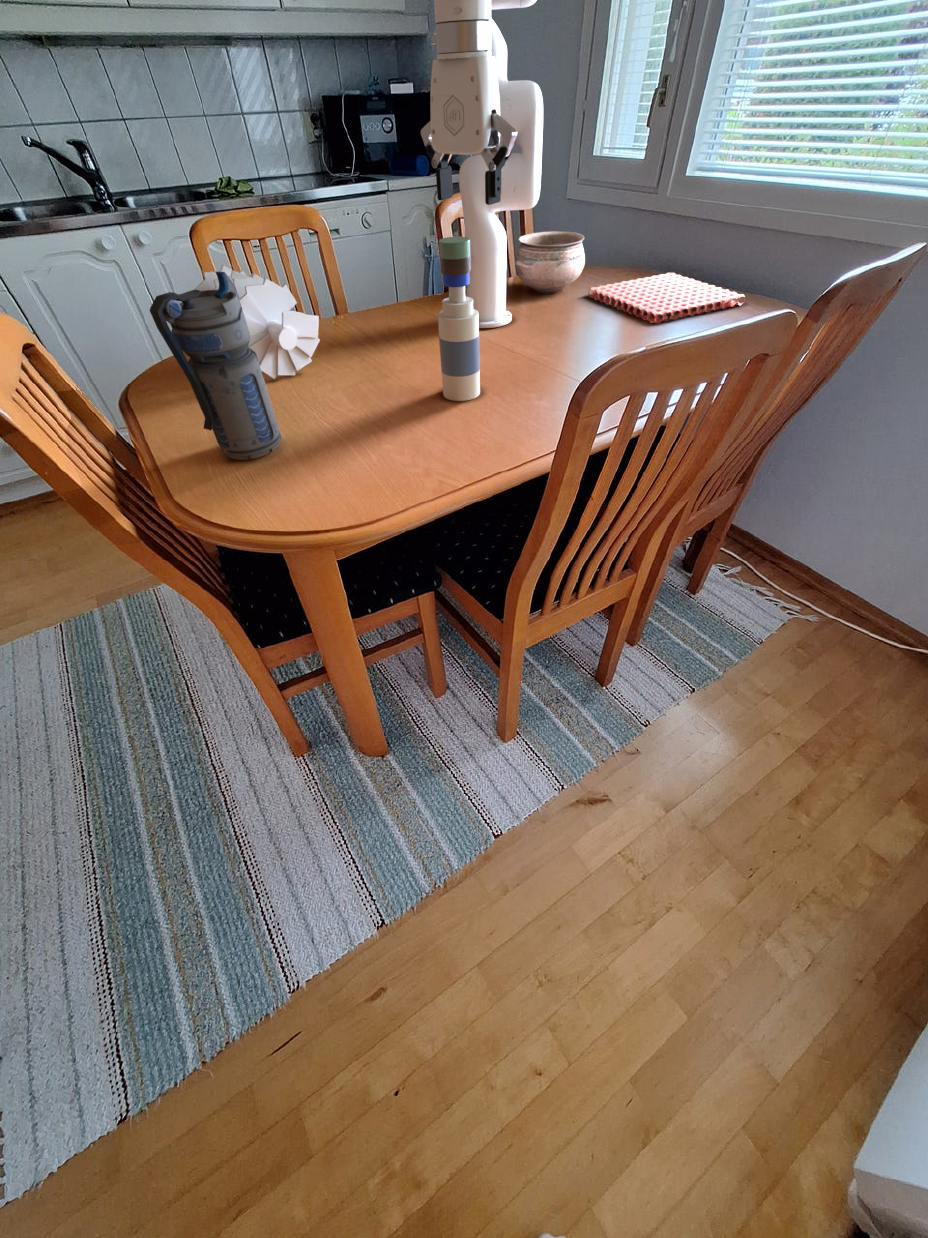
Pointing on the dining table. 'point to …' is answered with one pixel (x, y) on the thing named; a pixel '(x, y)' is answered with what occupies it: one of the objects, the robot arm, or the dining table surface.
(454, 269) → the brown disc
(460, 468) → the dining table surface
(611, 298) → the pink perforated square mat
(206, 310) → the beverage bottle
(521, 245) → the cooking pot
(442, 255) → the sage cylinder
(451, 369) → the cream bottle
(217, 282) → the spiral staircase
